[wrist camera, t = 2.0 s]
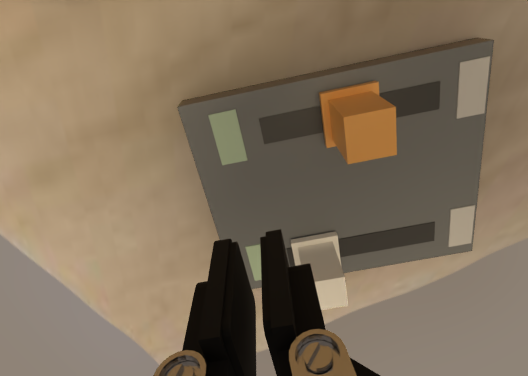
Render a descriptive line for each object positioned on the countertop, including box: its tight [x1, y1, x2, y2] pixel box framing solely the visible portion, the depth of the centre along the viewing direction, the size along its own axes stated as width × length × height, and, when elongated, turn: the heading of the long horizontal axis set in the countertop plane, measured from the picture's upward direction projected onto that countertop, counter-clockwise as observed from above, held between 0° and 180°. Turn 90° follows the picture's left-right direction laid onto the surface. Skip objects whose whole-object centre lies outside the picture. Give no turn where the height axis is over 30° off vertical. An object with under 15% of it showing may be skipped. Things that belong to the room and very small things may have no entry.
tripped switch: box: [319, 81, 397, 164], centre depth 22 cm, size 4×4×5 cm
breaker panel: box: [177, 38, 494, 289], centre depth 28 cm, size 22×18×2 cm
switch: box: [290, 231, 348, 310], centre depth 28 cm, size 4×4×5 cm
